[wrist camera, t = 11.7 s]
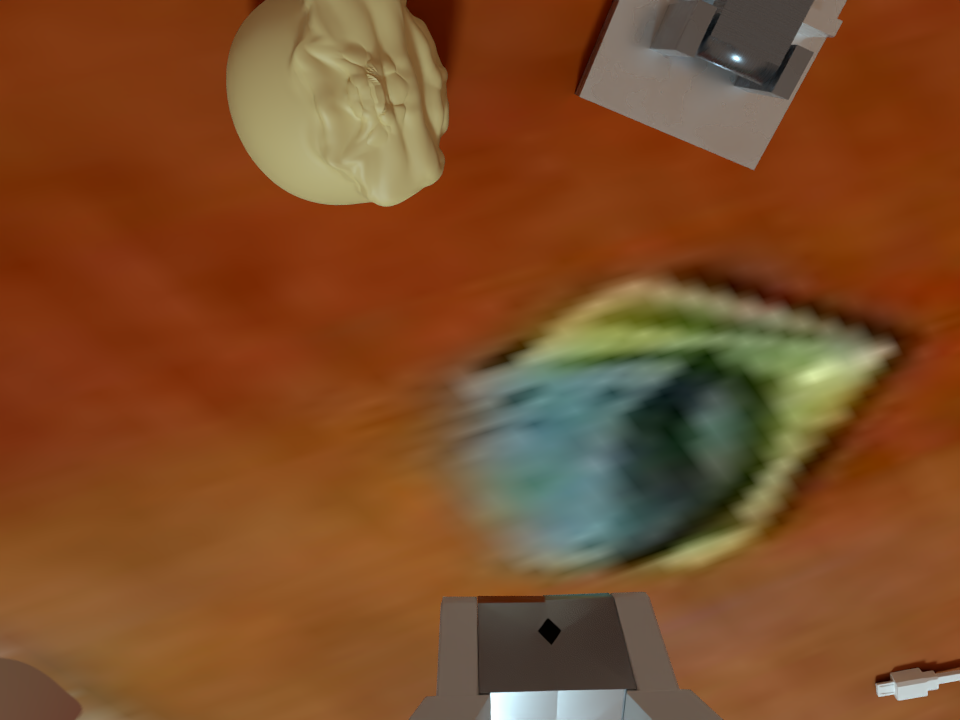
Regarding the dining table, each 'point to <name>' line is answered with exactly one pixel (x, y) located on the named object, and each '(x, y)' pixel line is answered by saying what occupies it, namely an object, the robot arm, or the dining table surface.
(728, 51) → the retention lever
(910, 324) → the dining table surface
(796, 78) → the grey dish rack
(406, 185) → the sculpture
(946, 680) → the charging cable
